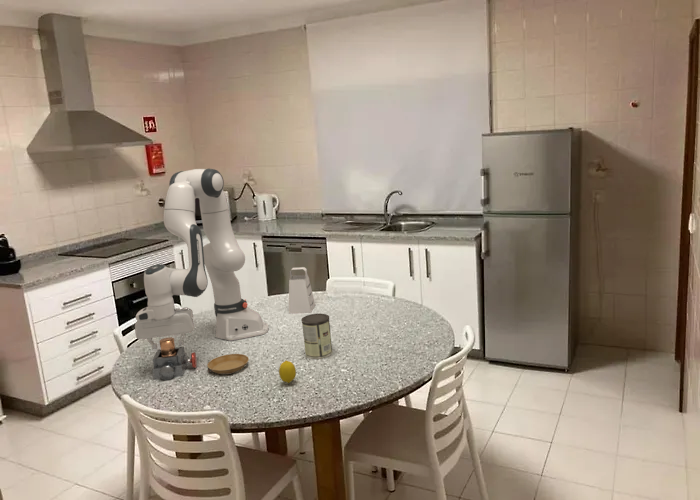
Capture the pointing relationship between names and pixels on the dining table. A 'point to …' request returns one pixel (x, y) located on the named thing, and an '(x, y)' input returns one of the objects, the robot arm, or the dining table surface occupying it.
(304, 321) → the coffee can
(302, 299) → the grater
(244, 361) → the plant saucer
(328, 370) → the dining table surface
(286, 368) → the lemon
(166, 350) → the cylinder
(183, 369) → the valve body
